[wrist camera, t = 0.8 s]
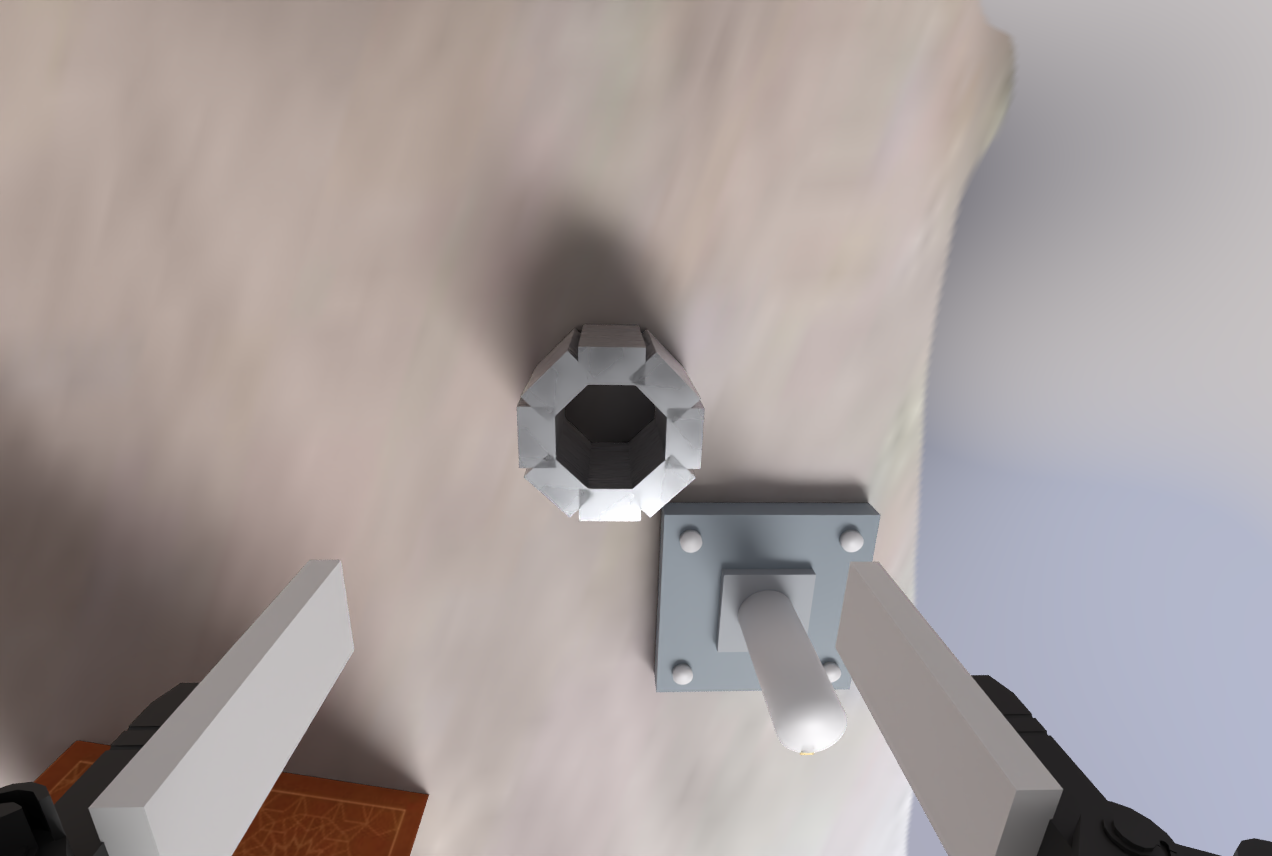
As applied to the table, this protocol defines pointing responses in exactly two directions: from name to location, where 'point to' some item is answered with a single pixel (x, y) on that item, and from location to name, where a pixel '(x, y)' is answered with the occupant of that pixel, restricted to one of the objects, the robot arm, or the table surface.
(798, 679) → the shaft block
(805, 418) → the table surface
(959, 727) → the robot arm
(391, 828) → the book
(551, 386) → the hub
